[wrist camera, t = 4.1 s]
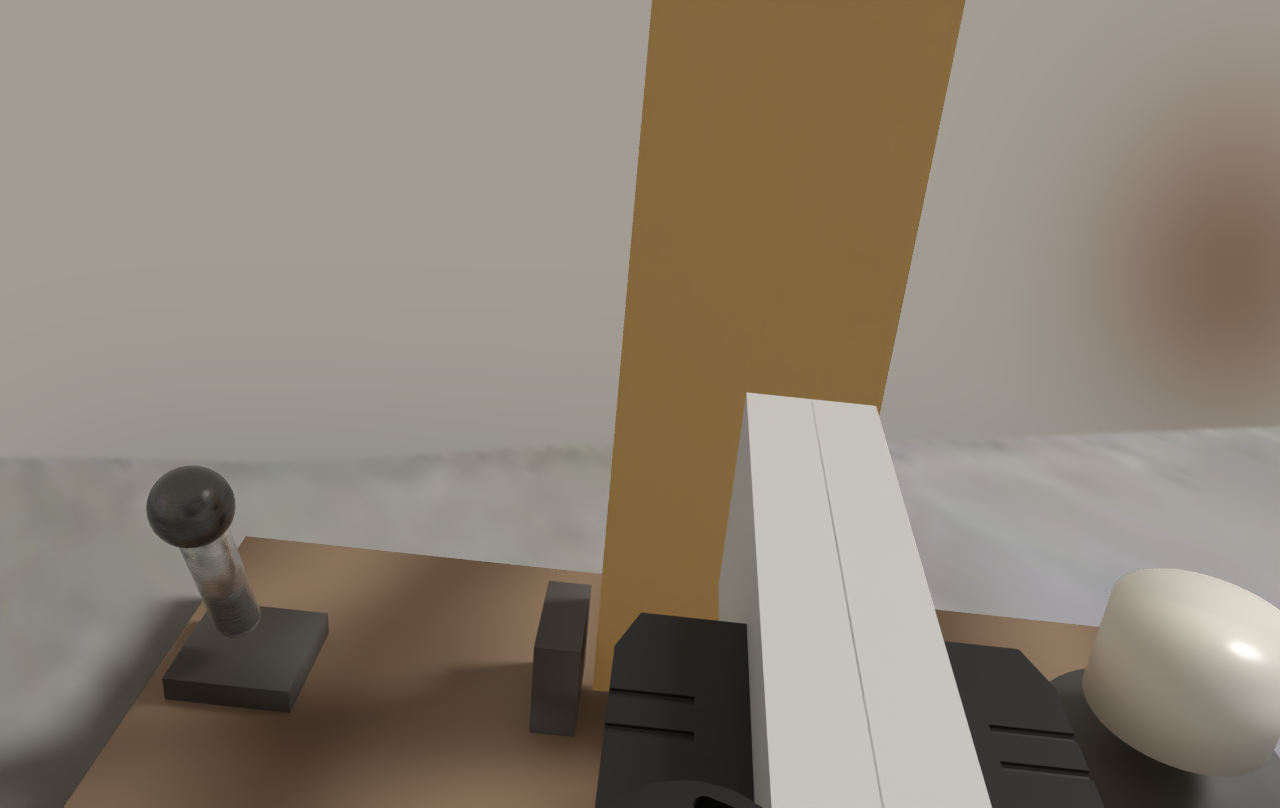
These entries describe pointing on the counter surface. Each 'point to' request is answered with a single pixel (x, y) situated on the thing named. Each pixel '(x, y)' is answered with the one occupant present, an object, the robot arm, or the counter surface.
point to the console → (468, 695)
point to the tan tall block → (758, 256)
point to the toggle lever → (206, 543)
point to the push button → (1188, 671)
